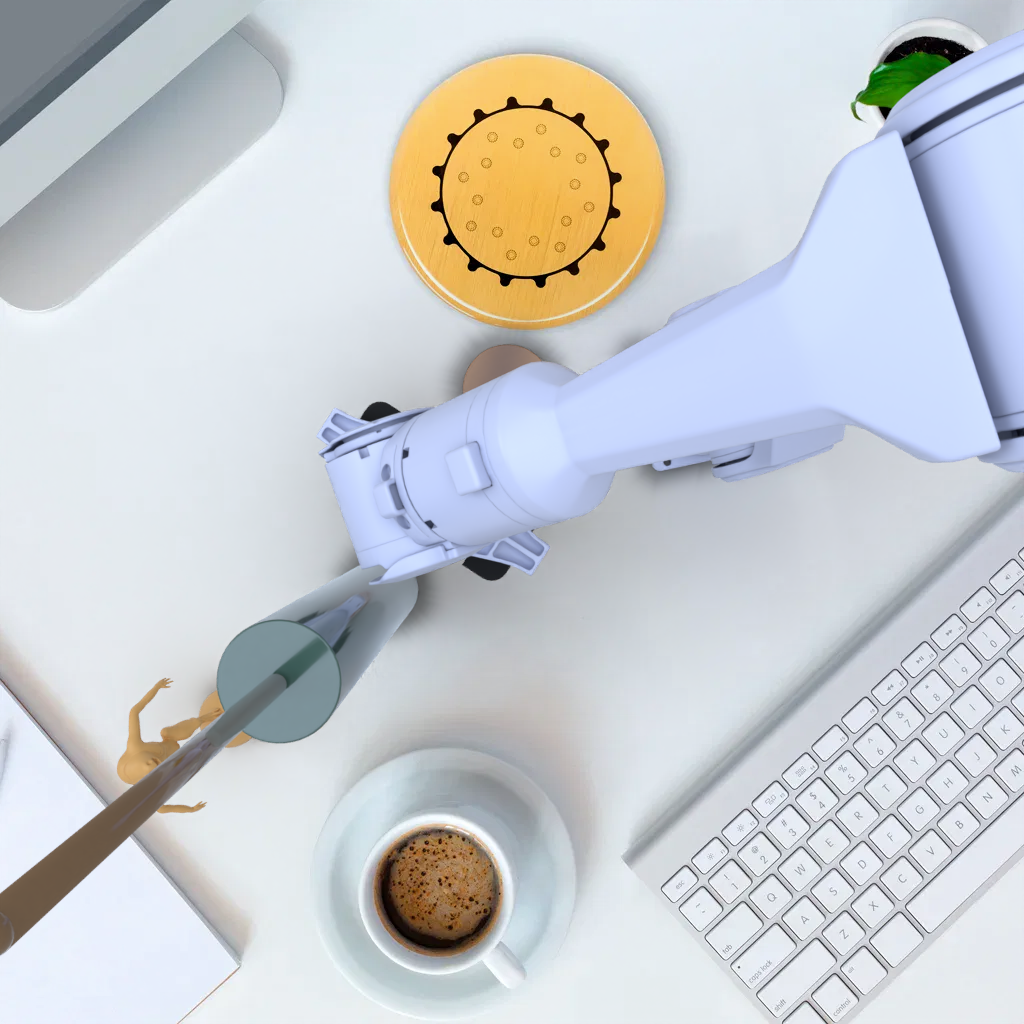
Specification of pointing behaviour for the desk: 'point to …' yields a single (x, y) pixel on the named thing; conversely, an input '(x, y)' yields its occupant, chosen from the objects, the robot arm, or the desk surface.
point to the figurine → (166, 742)
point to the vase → (236, 719)
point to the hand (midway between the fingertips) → (444, 490)
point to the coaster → (496, 364)
